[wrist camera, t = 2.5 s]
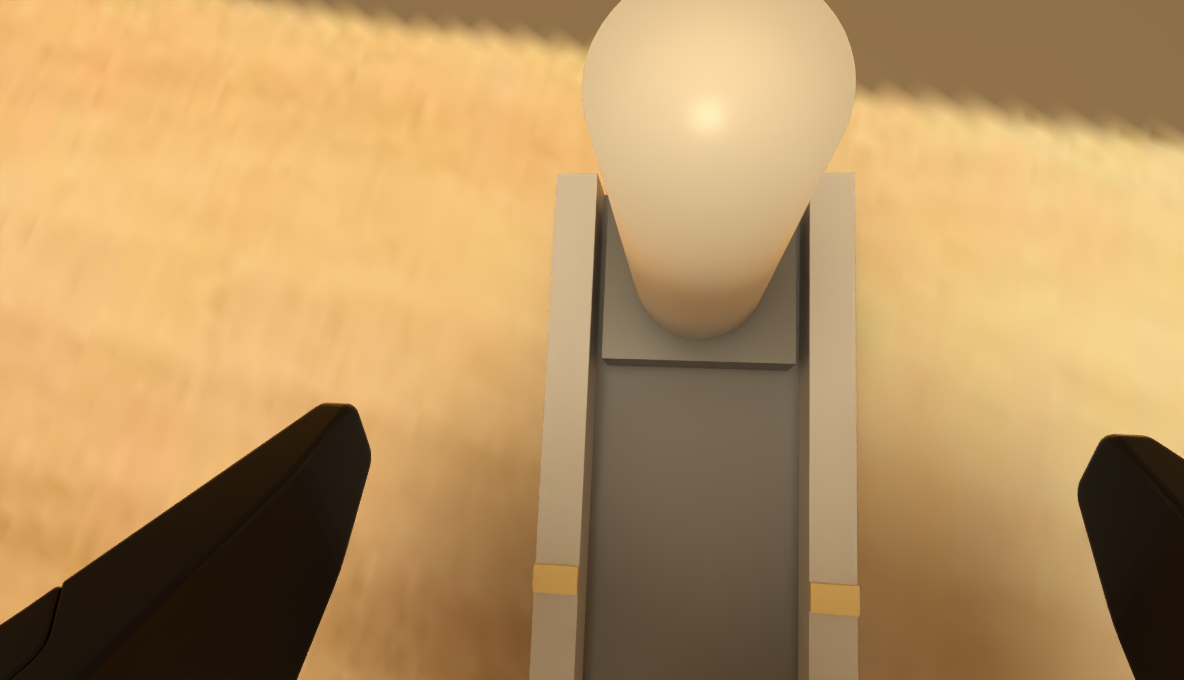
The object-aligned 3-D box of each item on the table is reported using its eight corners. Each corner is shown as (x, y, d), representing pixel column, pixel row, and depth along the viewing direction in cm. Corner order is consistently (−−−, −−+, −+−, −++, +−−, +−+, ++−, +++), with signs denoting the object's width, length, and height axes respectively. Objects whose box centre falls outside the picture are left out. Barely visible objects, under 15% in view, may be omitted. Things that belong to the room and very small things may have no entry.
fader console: (826, 1027, 17) (865, 1181, 14) (539, 985, 18) (503, 1119, 15) (825, 220, 20) (856, 169, 17) (577, 218, 21) (555, 170, 17)
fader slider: (787, 370, 18) (927, 260, 7) (608, 365, 18) (510, 256, 8) (788, 212, 18) (920, -91, 8) (614, 212, 19) (531, -72, 9)
